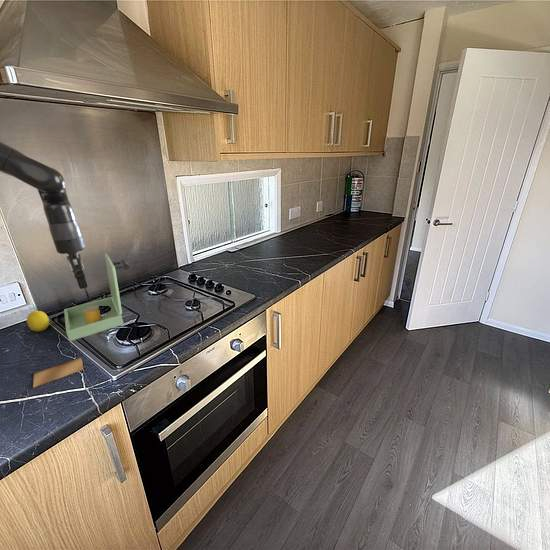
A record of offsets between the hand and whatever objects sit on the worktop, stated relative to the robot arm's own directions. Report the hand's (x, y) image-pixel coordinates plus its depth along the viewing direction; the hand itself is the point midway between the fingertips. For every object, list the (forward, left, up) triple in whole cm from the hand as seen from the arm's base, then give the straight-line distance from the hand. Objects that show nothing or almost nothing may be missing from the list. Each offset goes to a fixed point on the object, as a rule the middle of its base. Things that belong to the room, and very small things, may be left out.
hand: (82, 283), depth 96 cm
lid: (+8, 0, -2) cm, 8 cm away
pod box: (0, 0, -15) cm, 15 cm away
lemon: (-15, +5, -15) cm, 22 cm away
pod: (0, 0, -14) cm, 14 cm away
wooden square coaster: (-11, -20, -15) cm, 28 cm away
